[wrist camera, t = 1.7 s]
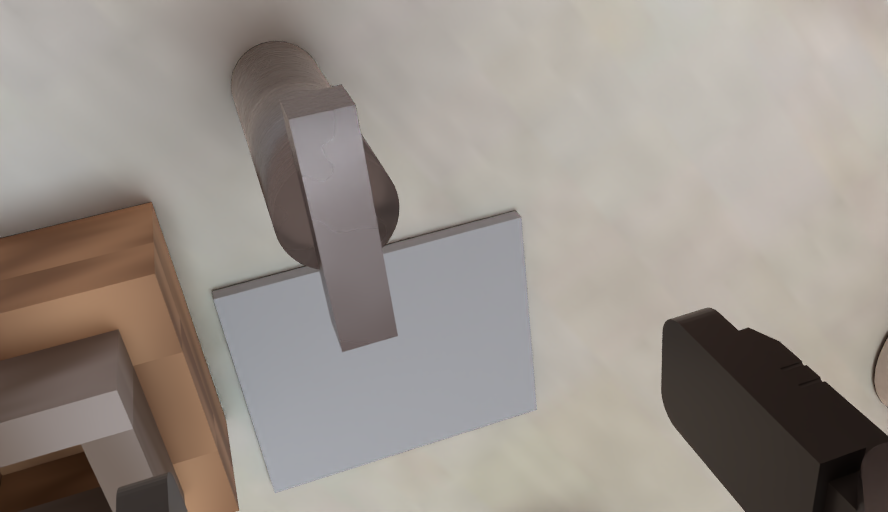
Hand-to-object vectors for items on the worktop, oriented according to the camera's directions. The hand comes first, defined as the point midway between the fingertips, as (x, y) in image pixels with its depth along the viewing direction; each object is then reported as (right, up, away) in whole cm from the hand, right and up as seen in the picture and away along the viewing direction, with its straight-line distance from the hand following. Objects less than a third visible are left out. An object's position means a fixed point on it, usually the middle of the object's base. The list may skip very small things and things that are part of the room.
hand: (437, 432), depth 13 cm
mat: (-2, -1, +22) cm, 22 cm away
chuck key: (-5, +8, +15) cm, 18 cm away
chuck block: (-14, -1, +17) cm, 22 cm away
